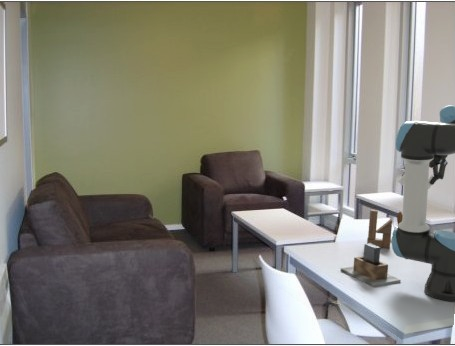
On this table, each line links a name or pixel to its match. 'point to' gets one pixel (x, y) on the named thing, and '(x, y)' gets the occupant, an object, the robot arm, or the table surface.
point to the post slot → (370, 272)
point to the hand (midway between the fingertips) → (412, 186)
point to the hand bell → (398, 219)
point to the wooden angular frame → (379, 231)
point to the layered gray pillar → (371, 254)
